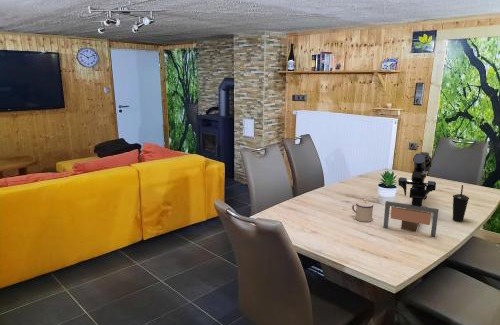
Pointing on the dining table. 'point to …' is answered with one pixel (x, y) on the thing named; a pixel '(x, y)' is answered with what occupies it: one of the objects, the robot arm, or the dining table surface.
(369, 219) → the teacup with lid
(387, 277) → the dining table surface
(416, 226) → the block
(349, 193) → the dining table surface
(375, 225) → the dining table surface
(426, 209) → the gate frame
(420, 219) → the flap door
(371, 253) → the dining table surface
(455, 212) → the drinking cup
